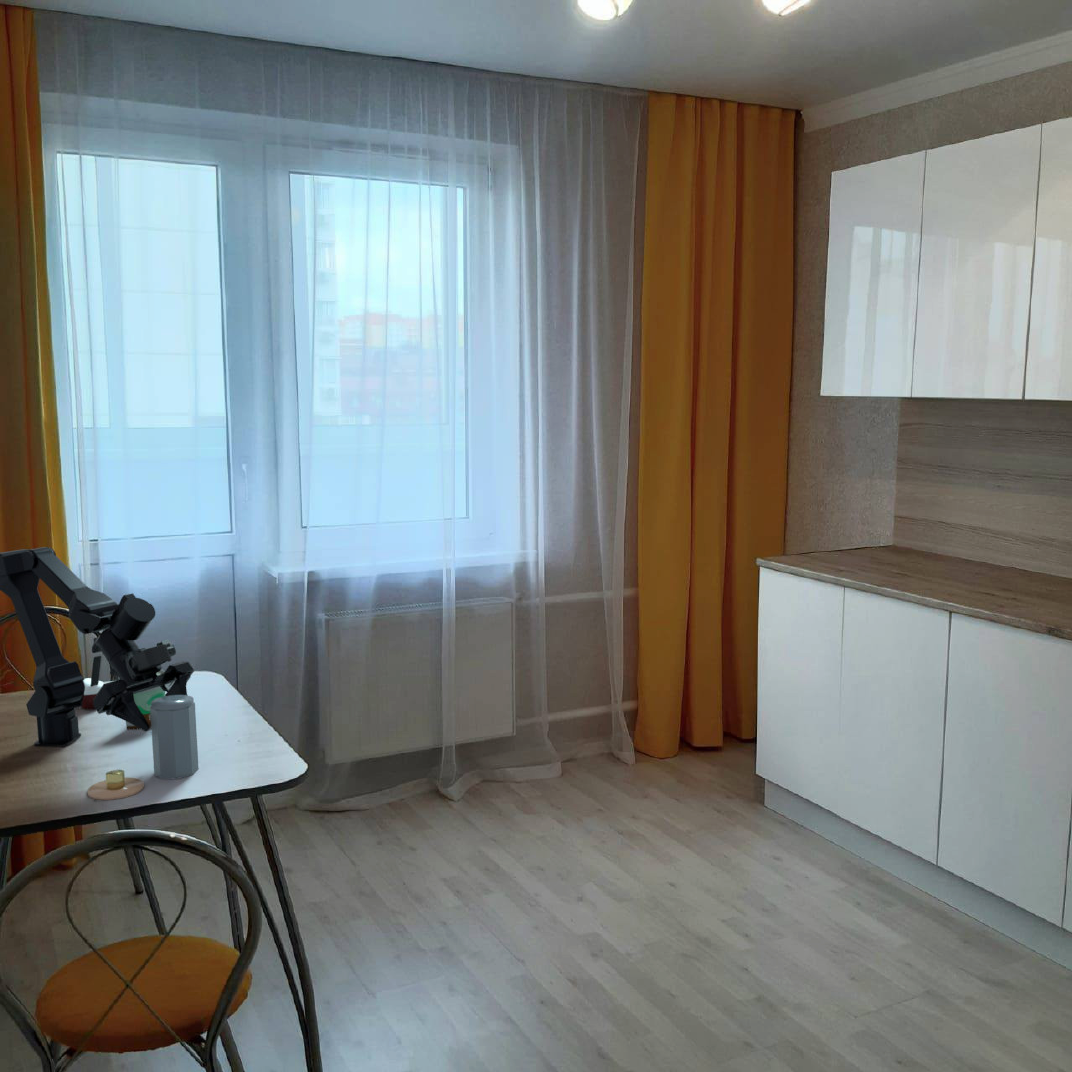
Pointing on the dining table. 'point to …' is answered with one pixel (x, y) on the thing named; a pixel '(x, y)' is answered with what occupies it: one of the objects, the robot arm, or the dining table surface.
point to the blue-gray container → (174, 736)
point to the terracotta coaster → (103, 793)
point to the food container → (146, 702)
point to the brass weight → (115, 780)
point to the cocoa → (92, 685)
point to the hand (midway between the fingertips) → (169, 722)
